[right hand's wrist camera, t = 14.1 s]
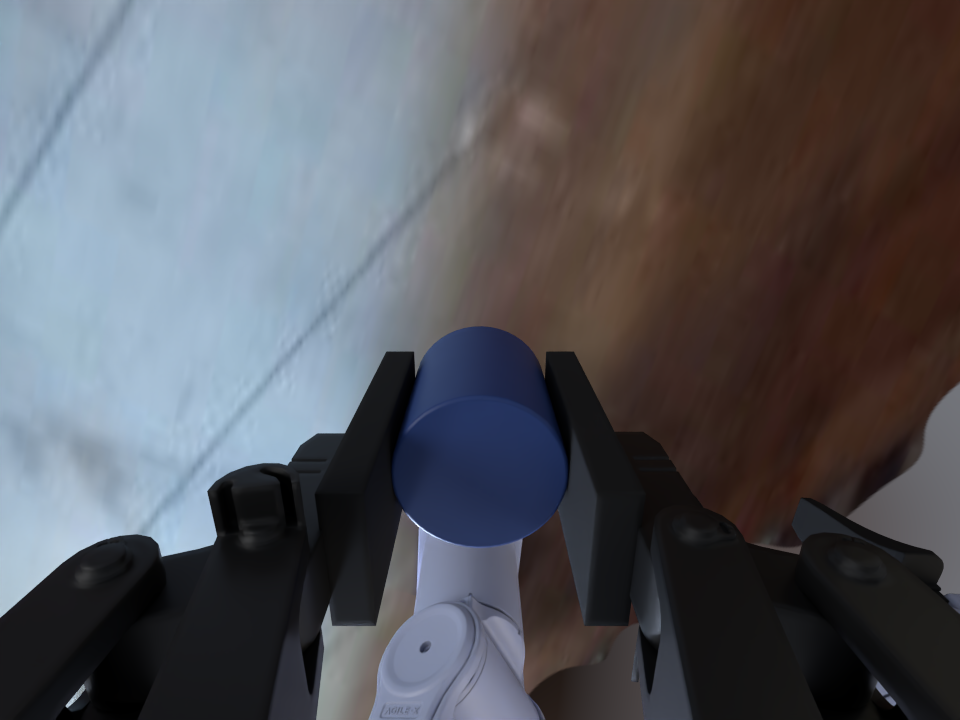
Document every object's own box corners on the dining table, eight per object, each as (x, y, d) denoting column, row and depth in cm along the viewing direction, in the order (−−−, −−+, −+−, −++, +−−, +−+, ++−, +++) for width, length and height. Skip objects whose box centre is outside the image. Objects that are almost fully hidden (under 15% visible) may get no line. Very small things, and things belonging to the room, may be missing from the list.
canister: (546, 436, 15) (573, 542, 11) (425, 446, 15) (404, 556, 11) (539, 319, 14) (566, 388, 10) (407, 331, 14) (375, 405, 10)
